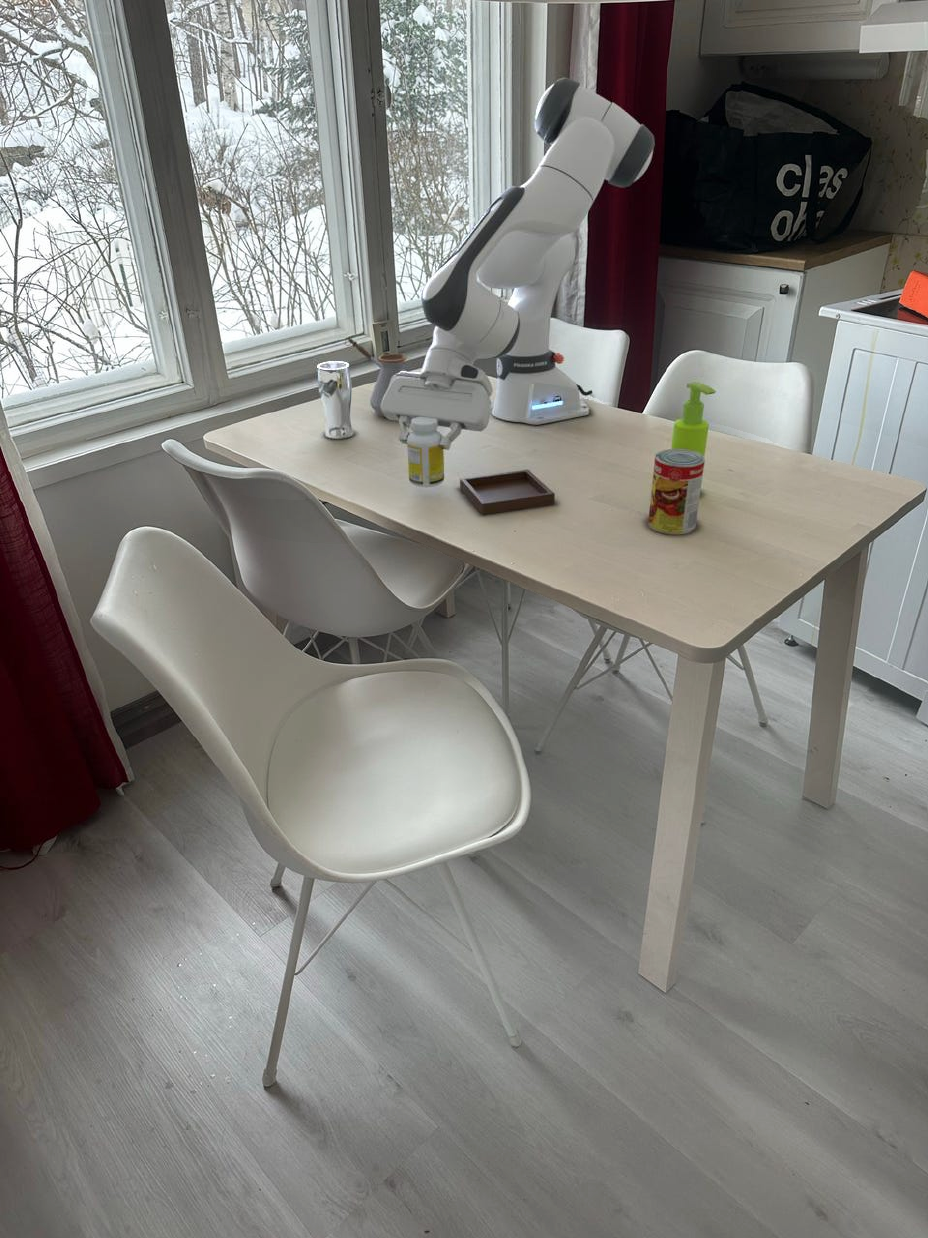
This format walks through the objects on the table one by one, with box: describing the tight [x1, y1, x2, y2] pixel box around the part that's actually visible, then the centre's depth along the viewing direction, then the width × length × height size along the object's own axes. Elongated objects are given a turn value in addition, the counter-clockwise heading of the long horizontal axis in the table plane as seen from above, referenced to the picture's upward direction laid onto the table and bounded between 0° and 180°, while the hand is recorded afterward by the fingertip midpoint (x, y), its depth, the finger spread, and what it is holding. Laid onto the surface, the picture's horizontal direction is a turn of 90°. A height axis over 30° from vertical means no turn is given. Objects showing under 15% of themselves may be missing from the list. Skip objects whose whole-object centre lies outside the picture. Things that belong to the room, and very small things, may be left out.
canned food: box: [647, 448, 706, 535], centre depth 142 cm, size 8×8×12 cm
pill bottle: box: [406, 417, 445, 488], centre depth 154 cm, size 6×6×12 cm
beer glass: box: [316, 361, 354, 440], centre depth 184 cm, size 7×7×15 cm
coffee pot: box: [344, 337, 407, 418], centre depth 199 cm, size 21×12×15 cm, turn 47°
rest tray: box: [459, 469, 555, 516], centre depth 156 cm, size 14×13×2 cm
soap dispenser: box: [670, 381, 717, 457], centre depth 151 cm, size 6×7×20 cm
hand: (423, 445), depth 153 cm, fingers closed on pill bottle, 6 cm apart
